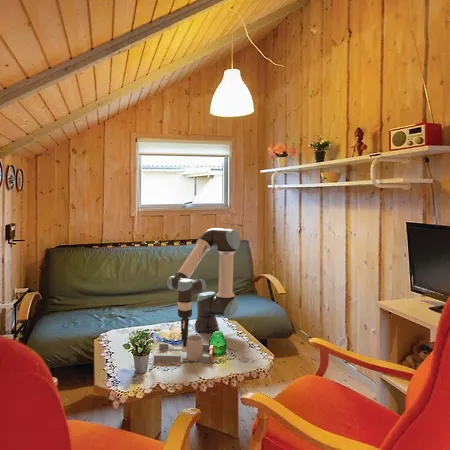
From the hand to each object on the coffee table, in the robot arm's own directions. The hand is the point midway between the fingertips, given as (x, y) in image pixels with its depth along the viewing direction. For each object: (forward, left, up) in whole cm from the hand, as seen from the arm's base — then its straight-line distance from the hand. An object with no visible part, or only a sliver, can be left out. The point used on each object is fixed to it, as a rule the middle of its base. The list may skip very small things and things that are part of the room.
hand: (184, 351), depth 216 cm
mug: (-2, +5, -3) cm, 6 cm away
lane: (0, 0, -3) cm, 3 cm away
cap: (-7, +12, +2) cm, 14 cm away
